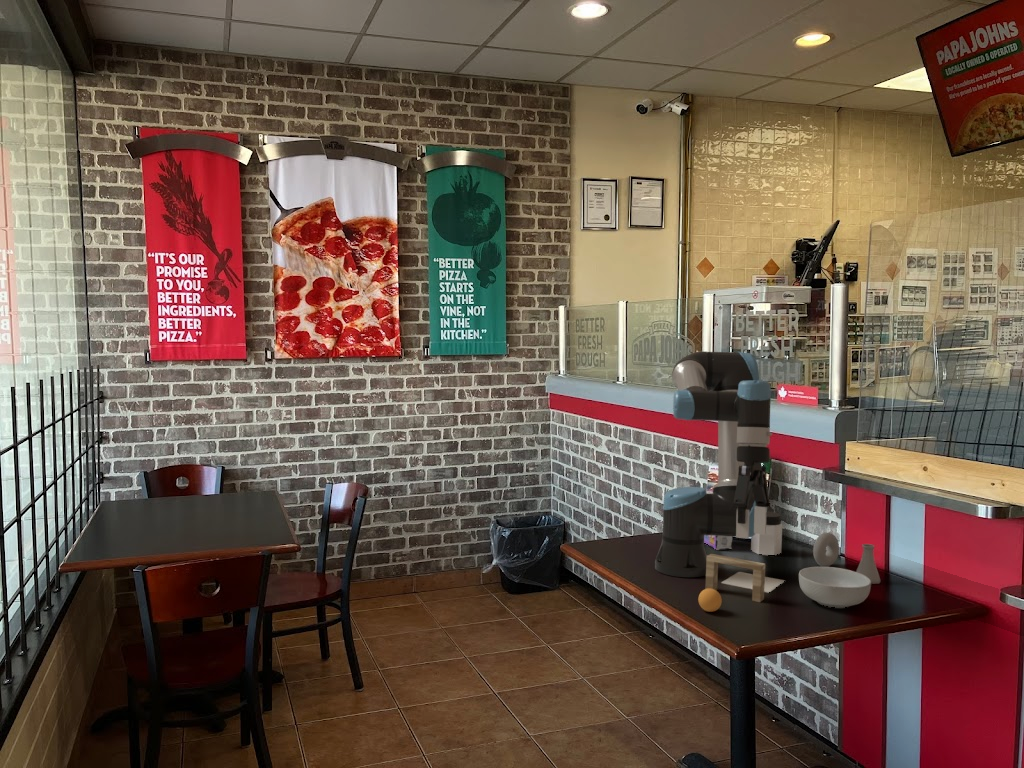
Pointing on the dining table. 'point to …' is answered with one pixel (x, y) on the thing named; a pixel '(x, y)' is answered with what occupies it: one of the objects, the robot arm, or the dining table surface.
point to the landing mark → (751, 581)
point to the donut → (820, 548)
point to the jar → (769, 536)
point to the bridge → (756, 566)
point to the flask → (868, 564)
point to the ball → (710, 600)
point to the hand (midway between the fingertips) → (751, 536)
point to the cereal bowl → (834, 586)
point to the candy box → (718, 539)
